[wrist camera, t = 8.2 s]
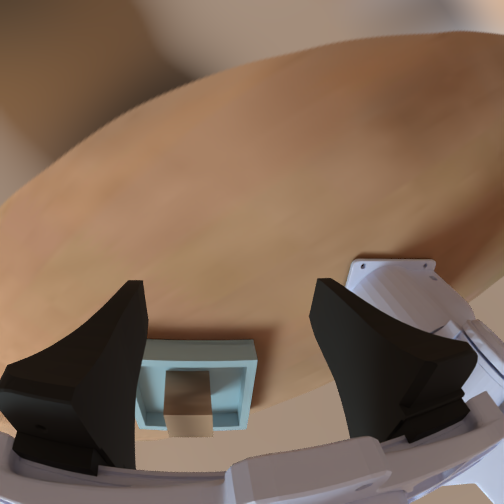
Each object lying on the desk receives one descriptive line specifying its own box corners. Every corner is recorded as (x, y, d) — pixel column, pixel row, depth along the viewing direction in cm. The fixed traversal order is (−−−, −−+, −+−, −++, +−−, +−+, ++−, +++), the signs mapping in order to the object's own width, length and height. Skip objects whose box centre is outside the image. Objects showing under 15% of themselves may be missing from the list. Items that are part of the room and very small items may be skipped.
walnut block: (209, 370, 26) (212, 414, 22) (210, 395, 28) (213, 436, 24) (165, 370, 26) (163, 414, 21) (170, 395, 27) (169, 436, 23)
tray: (253, 339, 26) (257, 359, 24) (243, 411, 31) (246, 429, 29) (121, 337, 24) (116, 358, 22) (141, 410, 29) (139, 428, 27)
